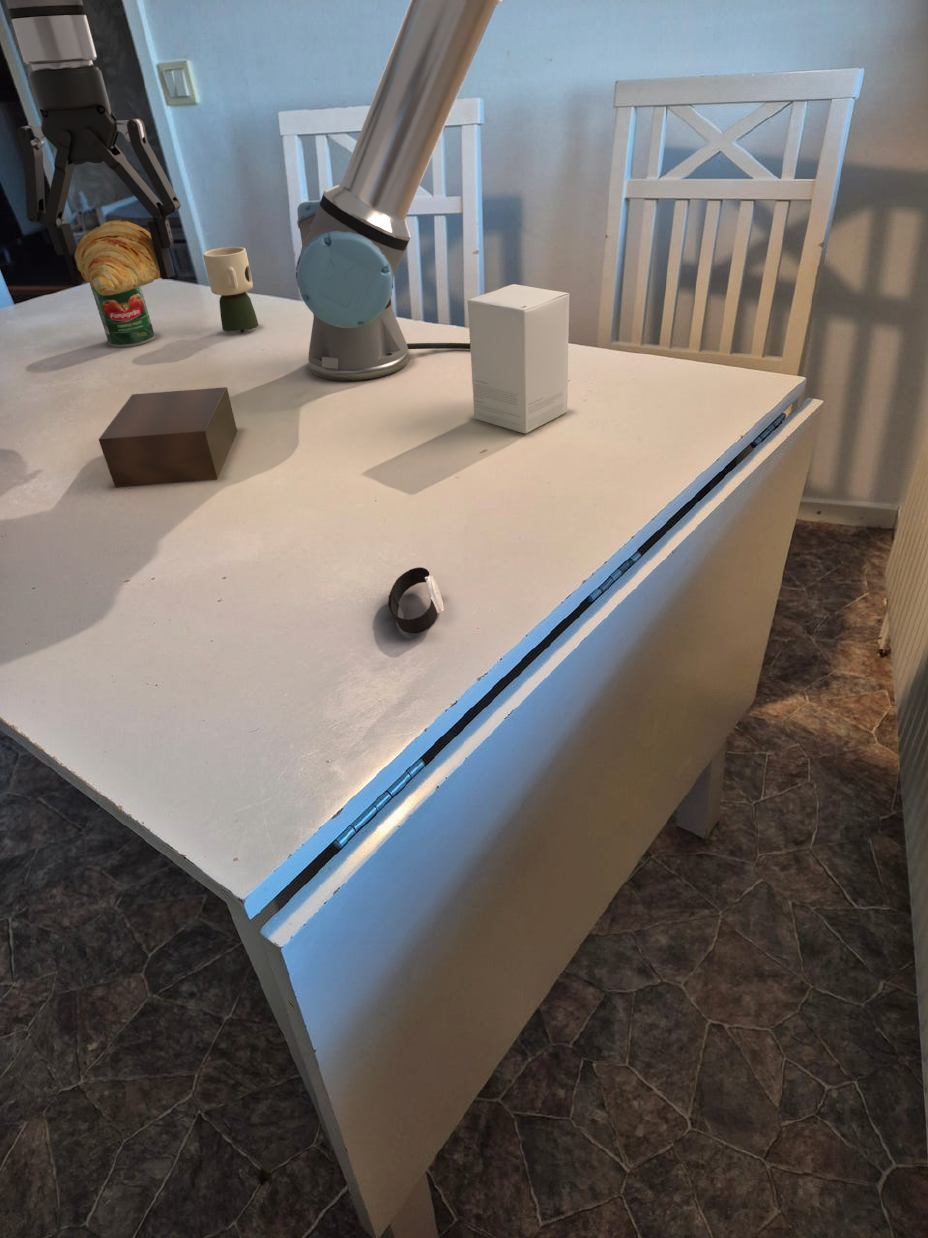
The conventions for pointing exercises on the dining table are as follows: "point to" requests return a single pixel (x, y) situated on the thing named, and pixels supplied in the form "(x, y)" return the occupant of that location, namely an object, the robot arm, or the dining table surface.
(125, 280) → the croissant
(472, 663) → the dining table surface
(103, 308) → the canned tomato
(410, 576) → the watch
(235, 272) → the character mug
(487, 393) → the white product box
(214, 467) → the walnut block
